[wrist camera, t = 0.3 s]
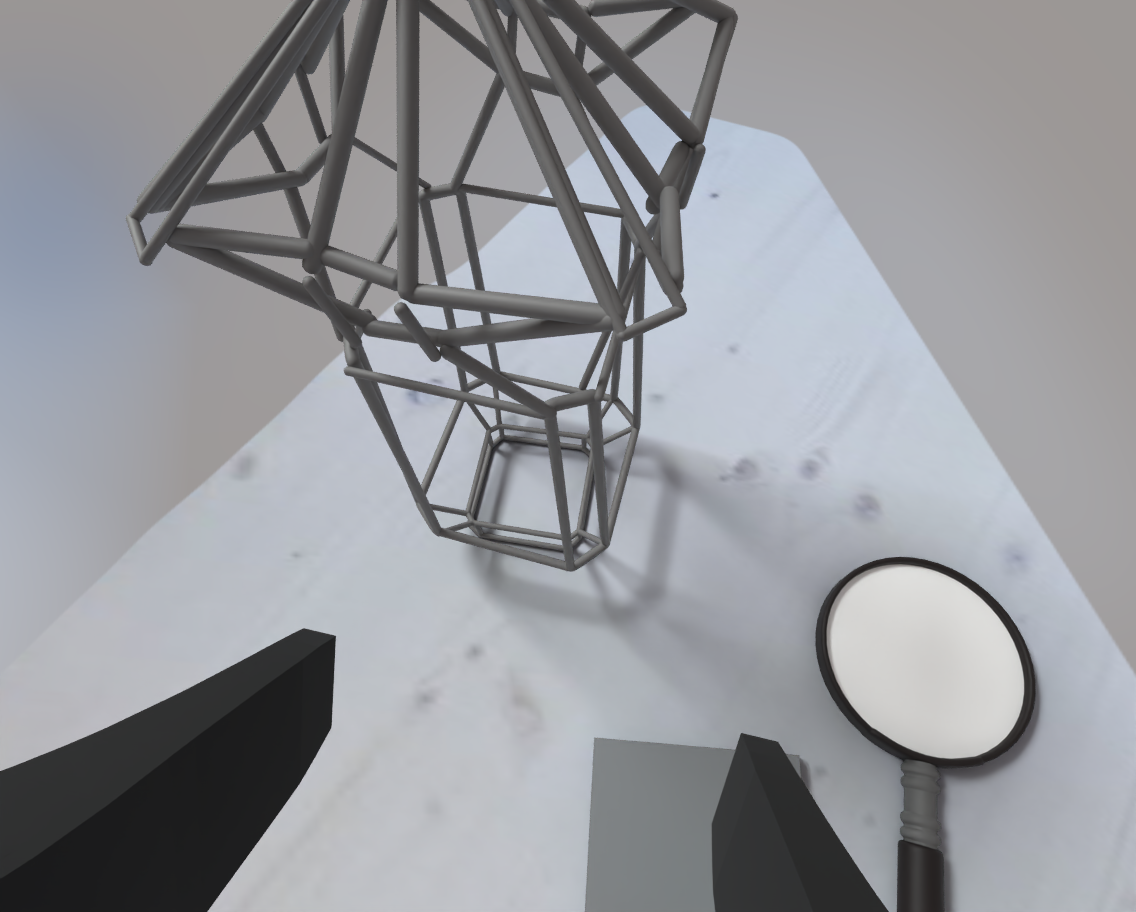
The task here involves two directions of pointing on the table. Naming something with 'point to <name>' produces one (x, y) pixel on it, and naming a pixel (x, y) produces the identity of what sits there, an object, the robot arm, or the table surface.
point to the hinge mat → (654, 825)
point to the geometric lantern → (300, 51)
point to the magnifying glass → (924, 689)
